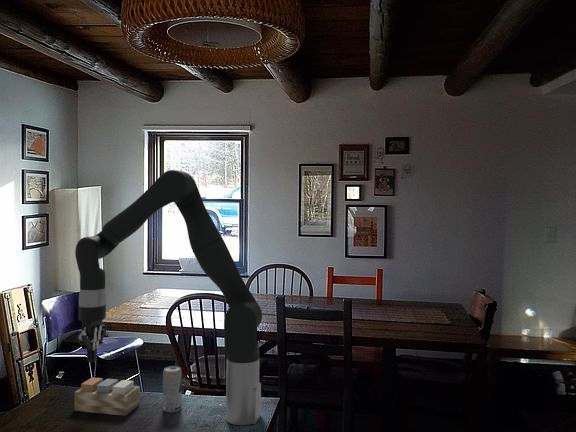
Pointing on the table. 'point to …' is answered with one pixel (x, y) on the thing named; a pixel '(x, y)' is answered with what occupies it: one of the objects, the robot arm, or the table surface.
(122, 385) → the ivory key
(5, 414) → the table surface
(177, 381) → the energy drink
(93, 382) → the rust key
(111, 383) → the slate key
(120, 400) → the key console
